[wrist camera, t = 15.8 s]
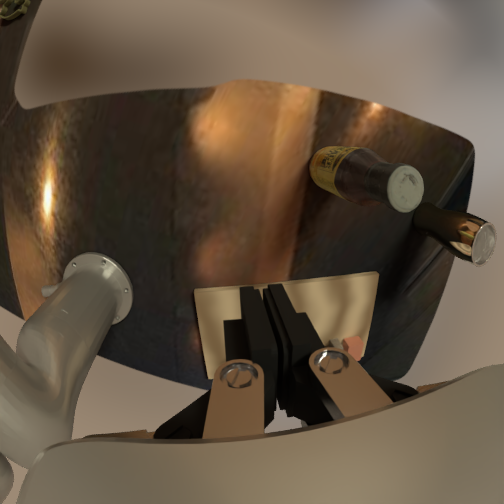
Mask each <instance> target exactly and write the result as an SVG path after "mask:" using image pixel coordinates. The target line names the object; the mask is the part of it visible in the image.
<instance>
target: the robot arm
mask: <svg viewBox="0 0 504 504" xmlns="http://www.w3.org/2000/svg"><path fill="white" fill-rule="evenodd" d="M104 260H105V261H106V262H105V261H104ZM239 291H240V307H241V319H232V320H223V325H224V340H225V354H226V362H225V363H223V364H222V365H220V366H219V367H218V368H217V369H216V372H215V374H214V379H213V384H212V388H211V389H210V390H209V391H208V392H206V393H205V394H204V395H202V396H201V397H200V398H198V399H197V400H196V401H194V402H193V403H192V404H190V405H189V406H188V407H186V408H185V409H183V410H182V411H180V412H179V413H178V414H176V415H175V416H173V417H172V418H171V419H169V420H168V421H166V422H165V423H163V424H162V425H161V426H160V427H159V428H158V429H157V430H156V431H155V432H147V430H139V431H130V432H121V433H110V434H96V435H89V436H85V437H84V438H81V439H74V440H71V437H72V430H73V422H74V414H75V408H76V404H77V400H78V397H79V394H80V390H81V388H82V385H83V383H84V381H85V378H86V376H87V374H88V371H89V369H90V367H91V365H92V363H93V361H94V359H95V357H96V355H97V353H98V351H99V349H100V346H101V344H102V342H103V340H104V338H105V336H106V334H107V332H108V331H109V329H110V327H111V325H113V324H116V323H118V322H120V321H122V320H123V319H124V318H125V317H126V316H127V314H128V313H129V311H130V309H131V307H132V303H133V288H132V284H131V282H130V279H129V277H128V275H127V274H126V272H125V271H124V270H123V268H122V267H121V266H120V265H119V264H118V263H117V262H116V261H114V260H113V259H111V258H110V257H108V256H106V255H103V254H100V253H96V252H87V253H82V254H80V255H78V256H76V257H75V258H74V259H73V260H72V261H71V262H70V263H69V264H68V265H67V267H66V269H65V272H64V276H63V281H62V282H61V283H58V284H57V285H56V286H53V285H46V286H43V287H42V295H43V296H44V297H48V299H47V300H46V301H45V302H44V303H43V304H42V305H41V306H40V307H39V308H38V309H37V310H36V311H35V313H34V314H33V315H32V316H31V317H30V318H29V319H28V320H27V321H26V323H25V324H24V325H23V327H22V329H21V331H20V334H19V337H18V340H17V347H16V353H15V352H14V351H13V350H12V349H11V347H10V346H9V345H8V344H7V343H6V341H5V340H4V339H3V338H2V336H1V335H0V504H2V503H3V501H4V500H5V499H6V497H7V496H8V494H9V492H10V491H11V488H12V486H13V482H14V474H13V470H12V467H11V465H10V463H9V462H8V460H7V458H9V459H10V460H11V461H13V462H15V463H17V464H18V465H20V466H22V467H24V468H26V469H29V470H28V472H27V474H26V476H25V479H24V481H23V484H22V487H21V490H20V493H19V496H18V499H17V503H16V504H504V364H499V365H491V366H488V367H483V368H480V369H477V370H475V371H472V372H469V373H467V374H465V375H462V376H460V377H457V378H455V379H453V380H450V381H446V382H440V383H435V384H429V385H423V386H418V387H417V389H416V390H415V389H414V388H412V387H410V386H407V385H404V384H401V383H397V382H394V381H390V380H387V379H384V378H380V377H377V376H374V375H371V374H368V373H367V372H366V371H365V370H364V369H363V368H362V367H361V365H360V364H359V363H358V362H357V361H356V360H355V359H354V358H353V357H352V355H350V354H349V353H348V352H347V351H344V350H342V349H339V348H332V347H327V348H325V346H324V345H323V343H322V341H321V339H320V337H319V335H318V333H317V332H316V330H315V328H314V326H313V324H312V322H311V321H310V319H309V317H308V315H307V314H306V312H300V313H296V311H295V309H294V307H293V305H292V303H291V301H290V299H289V297H288V295H287V293H286V291H285V289H284V287H283V285H282V283H278V284H268V286H267V288H263V300H262V297H261V294H260V290H259V289H254V286H244V287H239ZM277 400H278V404H279V408H280V410H286V413H287V417H293V416H294V417H296V418H298V419H300V420H301V425H302V428H296V429H290V430H285V431H278V432H271V433H264V429H265V428H266V427H267V426H268V425H269V424H270V423H271V422H272V420H273V419H274V411H276V402H277ZM5 456H6V457H7V458H6V457H5Z"/></svg>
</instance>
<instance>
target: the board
mask: <svg viewBox="0 0 504 504" xmlns="http://www.w3.org/2000/svg"><path fill="white" fill-rule="evenodd" d="M378 278H379V274H378V273H377V272H376V271H375V272H367V273H358V274H350V275H341V276H332V277H323V278H314V279H305V280H295V281H285V282H274V283H263V284H252V285H240V286H228V287H215V288H202V289H195V290H194V296H195V303H196V309H197V316H198V322H199V329H200V335H201V341H202V346H203V352H204V358H205V363H206V369H207V374H208V379H214V374H215V372H216V369H217V368H218V367H219V366H220V365H222V364H223V363H225V362H226V354H225V340H224V325H223V320H232V319H241V307H240V291H239V287H244V286H254V289H259V290H260V294H261V297H262V300H263V288H267V286H268V284H278V283H282V285H283V287H284V289H285V291H286V293H287V295H288V297H289V299H290V301H291V303H292V305H293V307H294V309H295V311H296V313H300V312H306V314H307V315H308V317H309V319H310V321H311V322H312V324H313V326H314V328H315V330H316V332H317V333H318V335H319V337H320V339H321V341H322V343H323V345H324V346H326V347H329V342H330V339H335V338H338V340H339V341H340V343H341V344H342V346H343V340H344V338H349V337H354V336H359V337H360V339H361V340H362V341H363V343H364V346H363V350H362V354H361V357H363V355H364V351H365V347H366V343H367V338H368V333H369V329H370V324H371V319H372V314H373V308H374V303H375V297H376V291H377V285H378Z"/></svg>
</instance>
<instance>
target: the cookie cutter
mask: <svg viewBox="0 0 504 504" xmlns="http://www.w3.org/2000/svg"><path fill="white" fill-rule="evenodd" d="M24 1H25V2H24ZM12 2H13V0H0V4H3V3H5V4H4V5H3V6H2V11H1V12H0V17H1V18H3V19H5V20H12V19H14V18H16V17H17V16H19V15H20V14H21V13H23V14H25V13H26V11H27V7H28V6H29V5H30V1H29V0H15V3H16V4H18V5H21V4H22V3H23V2H24V4H23V5H22V9H21V10H20V9H18V10H17V11H16V12H14V13H13V14H12V15H10V16H7V17H4V15H5V14H6V12H7V8H8V6H9V5H10V4H11V3H12Z"/></svg>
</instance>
